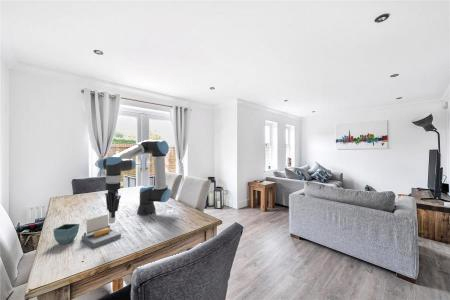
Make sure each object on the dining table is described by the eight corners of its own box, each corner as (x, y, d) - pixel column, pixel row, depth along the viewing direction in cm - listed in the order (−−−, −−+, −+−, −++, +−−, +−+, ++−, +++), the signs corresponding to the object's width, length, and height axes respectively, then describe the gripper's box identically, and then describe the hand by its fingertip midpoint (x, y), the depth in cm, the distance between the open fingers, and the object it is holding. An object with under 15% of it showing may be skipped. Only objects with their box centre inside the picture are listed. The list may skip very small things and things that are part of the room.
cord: (96, 234, 109) (94, 238, 110) (110, 230, 116) (109, 233, 117) (94, 231, 111) (93, 234, 112) (108, 226, 118) (107, 230, 118)
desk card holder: (81, 239, 112) (81, 232, 112) (108, 231, 125) (108, 224, 125) (93, 247, 103) (94, 239, 103) (120, 237, 116) (121, 230, 116)
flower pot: (64, 238, 113) (64, 223, 113) (79, 238, 114) (79, 223, 114) (52, 245, 105) (52, 229, 105) (68, 245, 105) (69, 229, 105)
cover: (87, 234, 111) (86, 233, 112) (108, 227, 121) (107, 227, 122) (87, 219, 112) (86, 219, 112) (108, 214, 122) (107, 214, 122)
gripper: (100, 182, 108) (99, 222, 108) (112, 184, 101) (110, 227, 101) (114, 180, 114) (112, 218, 114) (125, 182, 107) (124, 223, 107)
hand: (111, 222), depth 107 cm, fingers closed
